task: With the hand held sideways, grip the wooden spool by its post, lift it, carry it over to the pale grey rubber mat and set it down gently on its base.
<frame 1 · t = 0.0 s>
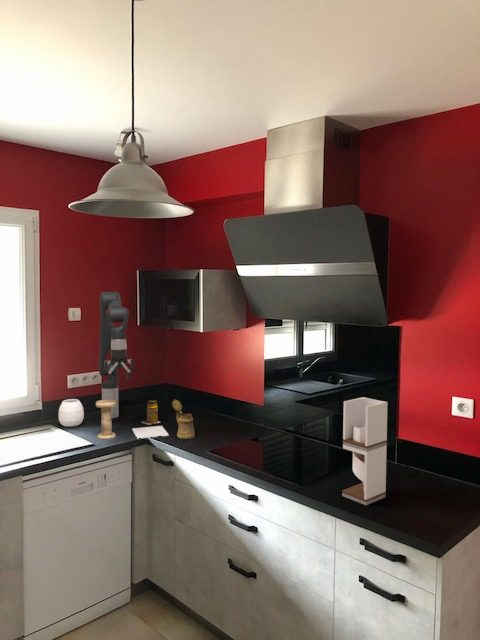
hand: (119, 380, 260), 29 cm above the counter, tool pointing down, fingers open, 8 cm apart
condiment: (150, 422, 293), on the counter
white faceted vase: (71, 425, 287), on the counter
wooden spool: (106, 436, 265), on the counter
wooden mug: (183, 435, 267), on the counter
display case: (363, 497, 191), on the counter
mat: (150, 432, 272), on the counter
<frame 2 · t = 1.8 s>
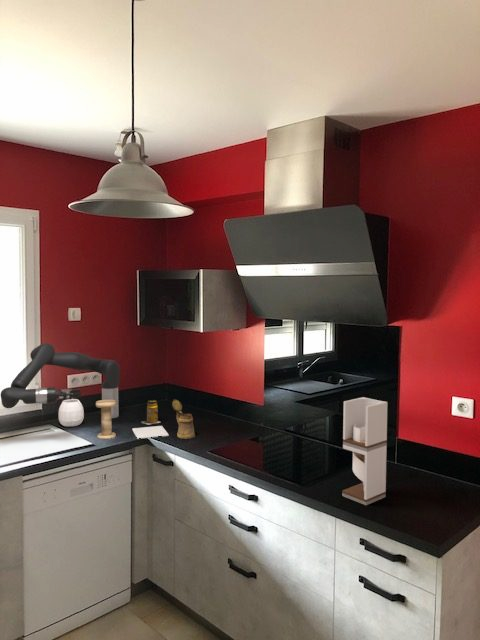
hand: (80, 393, 259), 23 cm above the counter, tool horizontal, fingers open, 8 cm apart
nothing on the counter moved.
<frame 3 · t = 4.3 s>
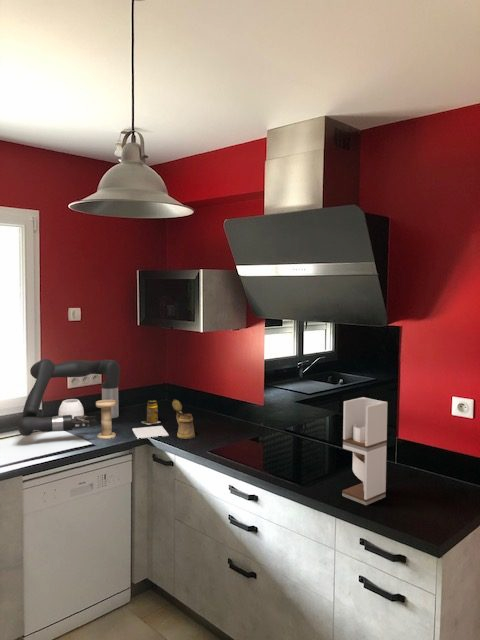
hand: (96, 420, 263), 9 cm above the counter, tool horizontal, fingers open, 8 cm apart
nothing on the counter moved.
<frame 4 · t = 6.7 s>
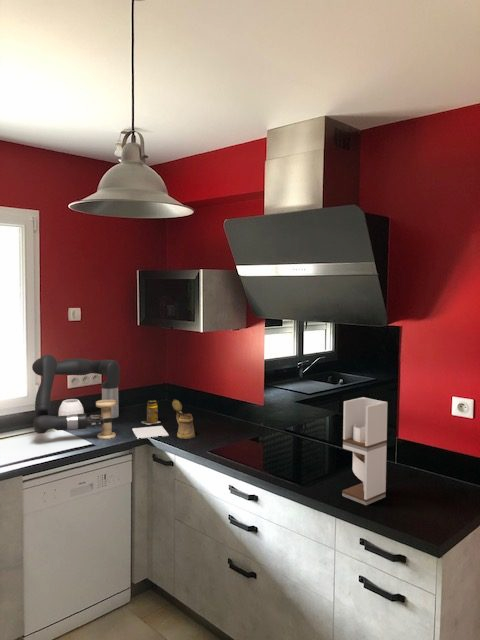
hand: (111, 418, 265), 9 cm above the counter, tool horizontal, fingers closed on wooden spool, 5 cm apart
wooden spool: (106, 436, 265), on the counter, touching gripper
everything else where it was.
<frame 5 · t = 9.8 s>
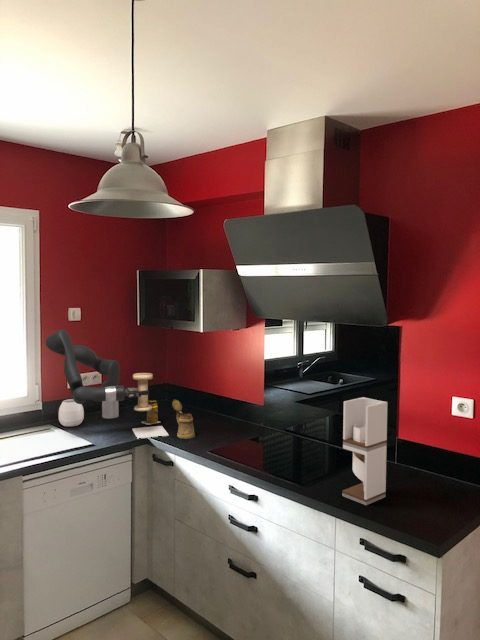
hand: (148, 391, 270), 22 cm above the counter, tool horizontal, fingers closed on wooden spool, 5 cm apart
wooden spool: (143, 409, 270), point 13 cm above the counter, touching gripper
everything else where it was.
when the fingers open (10 cm above the counter, at t = 13.2 s): wooden spool stays where it is, resting on mat.
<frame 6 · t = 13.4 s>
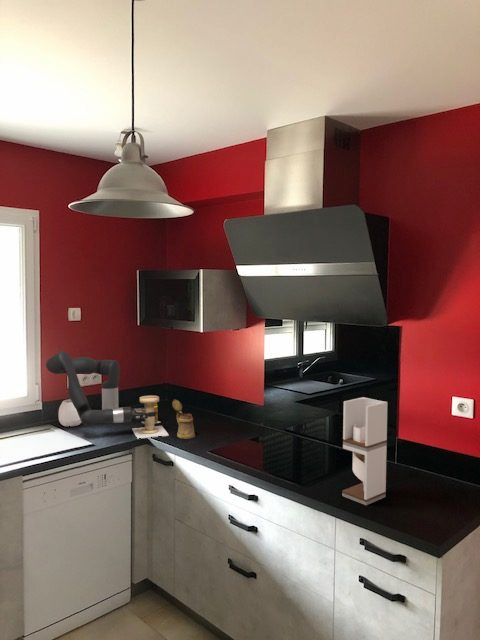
hand: (154, 412, 272), 10 cm above the counter, tool horizontal, fingers open, 6 cm apart
wooden spool: (149, 431, 272), point 1 cm above the counter, touching mat
everything else where it was.
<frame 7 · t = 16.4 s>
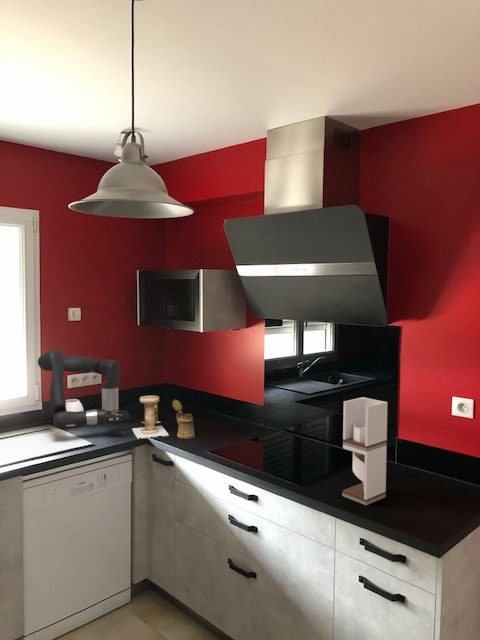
hand: (128, 414, 268), 10 cm above the counter, tool horizontal, fingers open, 8 cm apart
nothing on the counter moved.
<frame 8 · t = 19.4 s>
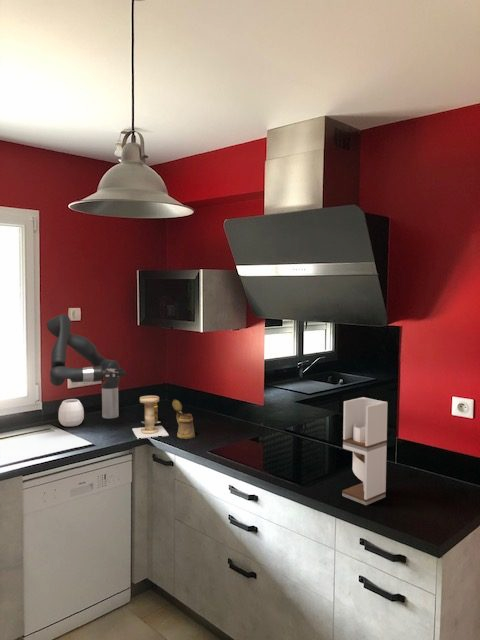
hand: (125, 372, 268), 32 cm above the counter, tool horizontal, fingers open, 8 cm apart
nothing on the counter moved.
at the end: wooden spool inside the target area on the mat (0.1 cm from its centre), point 0.5 cm above the mat's base; wooden spool tilted 0°; the gripper is holding nothing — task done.
